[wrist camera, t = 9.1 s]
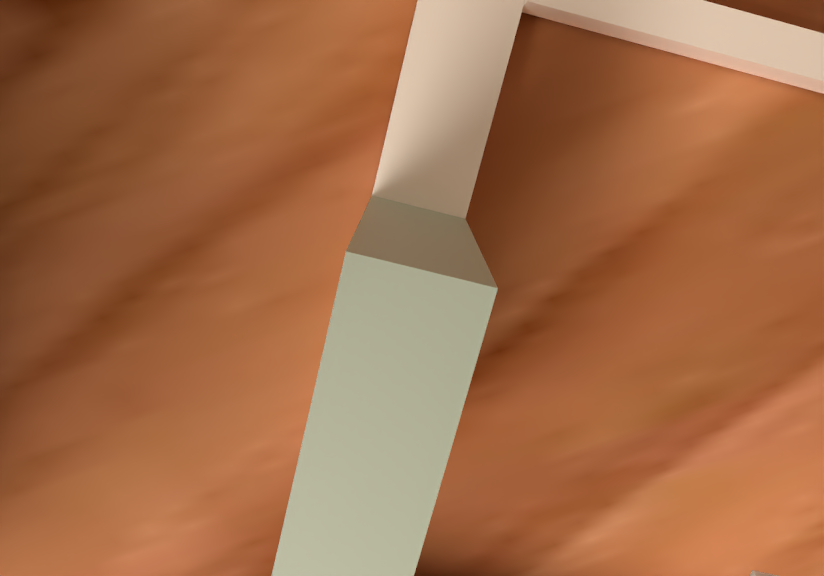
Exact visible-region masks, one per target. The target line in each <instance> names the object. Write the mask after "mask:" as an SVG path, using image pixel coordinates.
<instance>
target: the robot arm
mask: <svg viewBox="0 0 824 576" xmlns="http://www.w3.org/2000/svg"><path fill="white" fill-rule="evenodd" d="M750 576H778V575H773V574H768V573H763V572H759V571H754V570H752V572H751V574H750Z"/></svg>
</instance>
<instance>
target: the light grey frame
mask: <svg viewBox="0 0 824 576" xmlns="http://www.w3.org/2000/svg"><path fill="white" fill-rule="evenodd" d="M522 12H523V13H526V14H530V15H534V16H538V17H541V18H545V19H549V20H552V21H556V22H560V23H563V24H567V25H571V26H575V27H578V28H582V29H586V30H589V31H593V32H597V33H601V34H604V35H608V36H612V37H615V38H619V39H623V40H626V41H630V42H634V43H638V44H641V45H645V46H649V47H652V48H656V49H660V50H663V51H667V52H671V53H675V54H678V55H682V56H686V57H689V58H693V59H697V60H700V61H704V62H708V63H712V64H715V65H719V66H723V67H726V68H730V69H734V70H738V71H741V72H745V73H749V74H752V75H756V76H760V77H763V78H767V79H771V80H775V81H778V82H782V83H786V84H789V85H793V86H797V87H800V88H804V89H808V90H812V91H815V92H819V93H823V94H824V33H820V32H817V31H813V30H810V29H806V28H802V27H799V26H795V25H791V24H788V23H784V22H781V21H777V20H773V19H770V18H766V17H762V16H759V15H755V14H752V13H748V12H744V11H741V10H737V9H733V8H730V7H726V6H723V5H719V4H715V3H712V2H708V1H704V0H418V1H417V5H416V10H415V14H414V18H413V23H412V27H411V31H410V35H409V40H408V44H407V48H406V52H405V57H404V61H403V65H402V70H401V74H400V78H399V82H398V87H397V91H396V95H395V99H394V104H393V108H392V112H391V117H390V121H389V125H388V129H387V134H386V138H385V142H384V146H383V151H382V155H381V159H380V164H379V168H378V172H377V176H376V181H375V185H374V189H373V193H372V197H371V199H370V201H369V203H368V205H367V207H366V209H365V212H364V214H363V216H362V218H361V220H360V222H359V224H358V227H357V229H356V231H355V233H354V235H353V237H352V239H351V242H350V244H349V246H348V248H347V250H346V254H345V258H344V262H343V267H342V271H341V275H340V280H339V284H338V288H337V293H336V297H335V302H334V306H333V310H332V315H331V319H330V323H329V328H328V332H327V336H326V341H325V345H324V350H323V354H322V358H321V363H320V367H319V371H318V376H317V380H316V384H315V389H314V393H313V398H312V402H311V406H310V411H309V415H308V419H307V424H306V428H305V432H304V437H303V441H302V446H301V450H300V454H299V459H298V463H297V467H296V472H295V476H294V480H293V485H292V489H291V494H290V498H289V502H288V507H287V511H286V515H285V520H284V524H283V528H282V533H281V537H280V542H279V546H278V550H277V555H276V559H275V563H274V568H273V572H272V576H414V574H415V570H416V567H417V563H418V560H419V557H420V553H421V550H422V546H423V543H424V539H425V536H426V533H427V529H428V526H429V522H430V519H431V516H432V512H433V509H434V505H435V502H436V498H437V495H438V492H439V488H440V485H441V481H442V478H443V475H444V471H445V468H446V464H447V461H448V457H449V454H450V451H451V447H452V444H453V440H454V437H455V434H456V430H457V427H458V423H459V420H460V416H461V413H462V410H463V406H464V403H465V399H466V396H467V393H468V389H469V386H470V382H471V379H472V375H473V372H474V369H475V365H476V362H477V358H478V355H479V352H480V348H481V345H482V341H483V338H484V334H485V331H486V328H487V324H488V321H489V317H490V314H491V310H492V307H493V304H494V300H495V297H496V293H497V290H498V287H497V285H496V283H495V281H494V279H493V277H492V274H491V272H490V270H489V268H488V266H487V264H486V262H485V259H484V257H483V255H482V253H481V251H480V249H479V247H478V244H477V242H476V240H475V238H474V236H473V234H472V232H471V229H470V227H469V225H468V223H467V221H466V215H467V211H468V208H469V204H470V200H471V197H472V193H473V189H474V186H475V182H476V178H477V175H478V171H479V167H480V164H481V160H482V156H483V153H484V149H485V145H486V142H487V138H488V134H489V131H490V127H491V123H492V120H493V116H494V112H495V109H496V105H497V101H498V98H499V94H500V90H501V87H502V83H503V79H504V76H505V72H506V68H507V64H508V61H509V57H510V53H511V50H512V46H513V42H514V39H515V35H516V31H517V28H518V24H519V20H520V17H521V13H522Z"/></svg>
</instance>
